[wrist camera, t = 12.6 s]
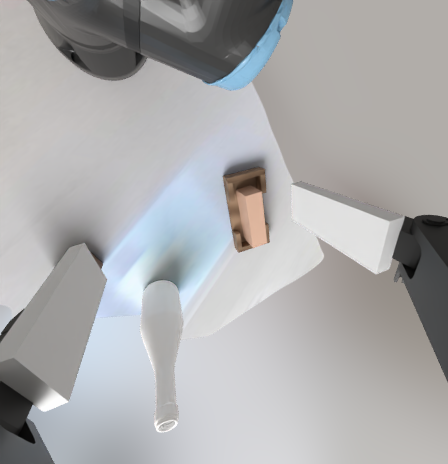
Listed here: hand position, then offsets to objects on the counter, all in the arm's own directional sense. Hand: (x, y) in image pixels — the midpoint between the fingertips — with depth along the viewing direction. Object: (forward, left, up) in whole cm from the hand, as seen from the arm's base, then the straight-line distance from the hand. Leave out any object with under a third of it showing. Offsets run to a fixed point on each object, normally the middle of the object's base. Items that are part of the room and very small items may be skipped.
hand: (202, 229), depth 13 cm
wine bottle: (+33, -12, -35) cm, 50 cm away
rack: (+16, +16, -35) cm, 41 cm away
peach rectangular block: (+17, +16, -34) cm, 41 cm away
